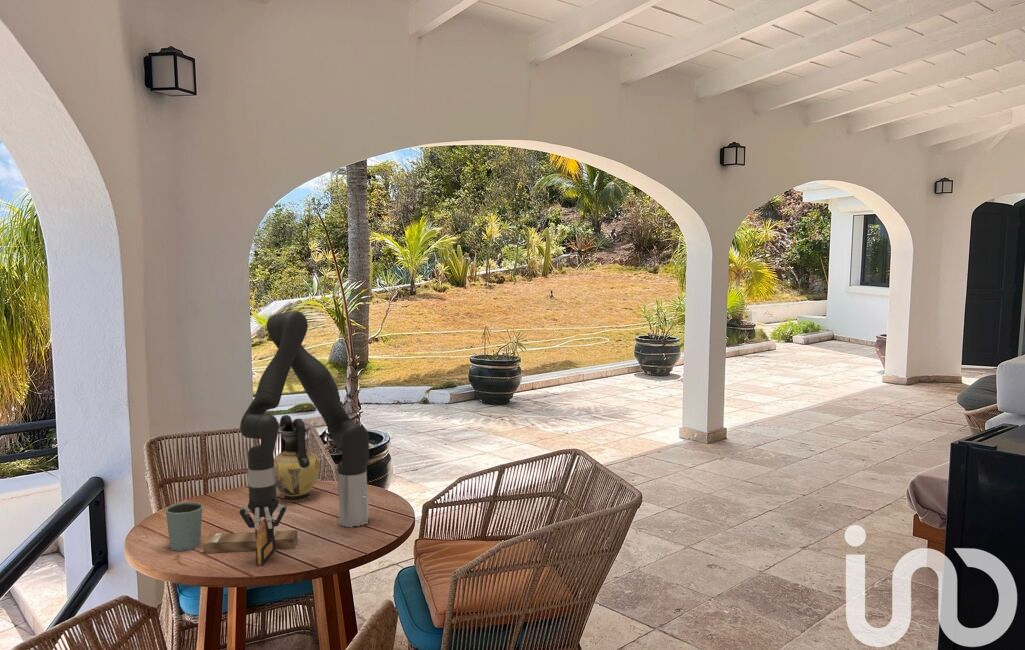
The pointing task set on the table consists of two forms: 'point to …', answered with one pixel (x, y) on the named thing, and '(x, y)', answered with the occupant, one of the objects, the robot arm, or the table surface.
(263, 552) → the ammunition clip
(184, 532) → the grey-green cup
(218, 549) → the plank
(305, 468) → the amphora
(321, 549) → the table surface
